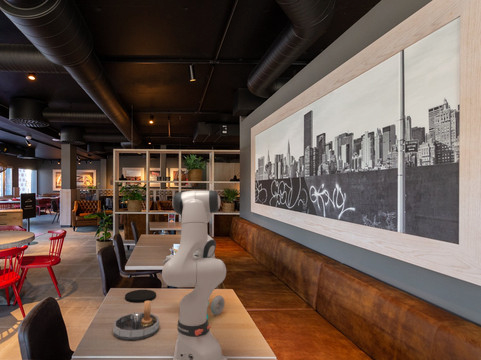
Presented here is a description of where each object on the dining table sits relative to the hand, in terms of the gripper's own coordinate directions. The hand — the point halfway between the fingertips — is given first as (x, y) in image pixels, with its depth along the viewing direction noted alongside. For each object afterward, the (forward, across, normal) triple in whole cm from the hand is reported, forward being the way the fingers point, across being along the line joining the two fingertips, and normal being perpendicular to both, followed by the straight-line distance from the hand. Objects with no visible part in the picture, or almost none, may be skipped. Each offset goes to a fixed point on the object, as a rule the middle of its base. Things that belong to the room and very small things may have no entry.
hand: (169, 264), depth 161 cm
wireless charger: (-7, -35, +28) cm, 46 cm away
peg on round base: (+12, 0, +26) cm, 29 cm away
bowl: (+18, 0, +28) cm, 33 cm away
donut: (-21, +15, +28) cm, 38 cm away
